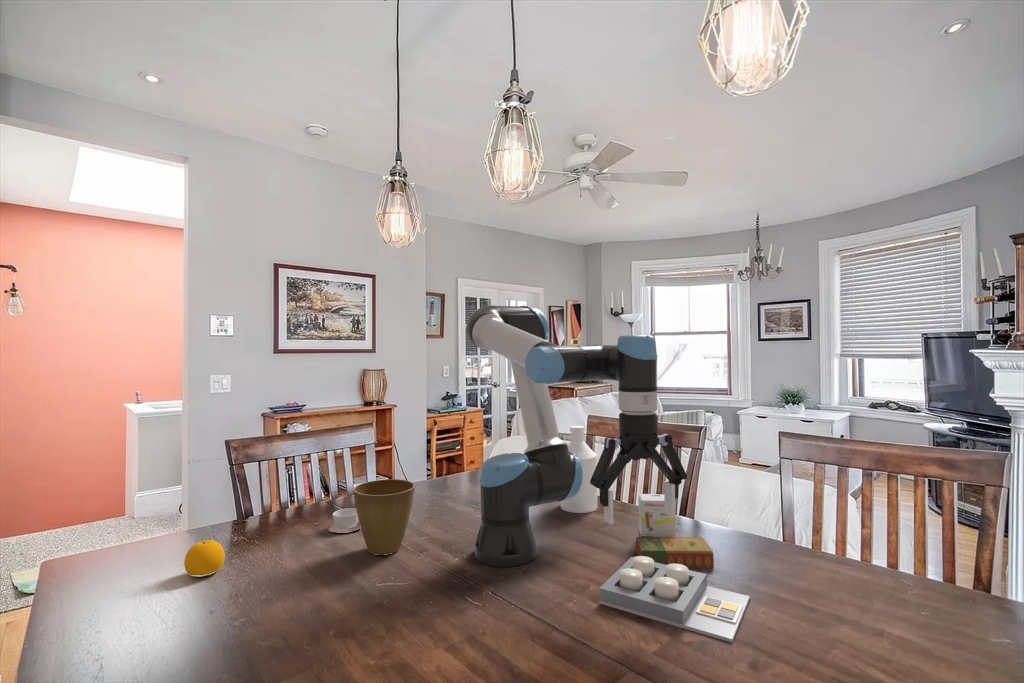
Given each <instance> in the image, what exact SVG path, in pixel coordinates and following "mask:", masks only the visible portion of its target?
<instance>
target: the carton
mask: <svg viewBox="0 0 1024 683" xmlns="http://www.w3.org/2000/svg"><path fill="white" fill-rule="evenodd" d="M635 553H636V555H637V556H646V557H649V558H652V559H653V560H654V562H656V563H661V564H665V565H668V564H681V565H684V566H686V567H687V568H697V569H698V568H701V569H714V568H715V566H714V565H715V564H714V563H715V562H714V561H715V559H714V552H713V549H712V548H711V546H710V545H709V544H708V543H707V541H706V540H705V539H704V538H703V537H696V536H695V537H694V536H693V537H692V536H691V537H683V536H682V537H681V536H680V537H677V536H676V537H639V536H636V538H635ZM637 556H636V557H637Z"/></svg>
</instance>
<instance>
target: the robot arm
mask: <svg viewBox="0 0 1024 683" xmlns="http://www.w3.org/2000/svg"><path fill="white" fill-rule="evenodd" d="M548 323H549V322H548V319H547V317H546V315H545V314H544V313H543V312H542V310H540V309H539V308H537V307H534V306H527V305H520V306H518V305H517V306H516V305H485V306H482V307H480V308H477V309H476V310H474V311H473V312H472V313H471V314H470V316H469V317H468V319H467V321H466V326H465V330H466V331H465V332H466V335H467V337H468V338H467V339H468V340H469V341H470V343H472V345H474V346H475V347H477V348H479V349H481V350H483V351H492V352H494V353H497V354H498V355H500V356H501V357H503V358H505V359H507V360H509V361H510V364H511V365H510V366H511V369H512V374H513V380H514V385H515V388H516V394H517V399H518V403H519V407H520V413H521V418H522V423H523V427H524V432H525V433H524V434H525V437H526V442H527V447H526V448H525V450H524V452H523V453H521V452H512V453H501V454H498V455H494V456H491V457H489V458H487V459H486V460H485V461H483V463H482V464H481V467H480V477H479V484H480V514H481V515H480V516H481V520H480V526H479V528H478V532H477V536H476V541H475V543H474V557H475V559H476V560H477V561H478V562H480V563H482V564H484V565H488V566H492V567H499V568H501V567H504V568H507V567H517V566H521V565H525V564H528V563H530V562H531V561H533V560H534V559H535V558H536V557H537V556H538V548H537V547H538V545H537V540H536V539H535V534H534V531H533V529H532V526H531V523H530V507H535V506H542V505H545V504H550V503H551V504H552V503H555V502H560V501H563V500H565V499H568V498H572V497H574V496H575V495H576V494H577V493H578V492H579V490H580V486H581V485H582V481H583V468H582V464H581V461H580V459H579V458H578V457H577V455H576V454H575V453H573V452H570V451H569V450H568V446H567V445H568V444H567V442H566V441H564V440H562V439H561V436H560V434H559V430H558V425H557V420H556V416H555V412H554V411H555V410H554V406H553V403H552V402H553V401H552V398H551V394H550V389H549V386H548V385H552V384H561V383H573V382H574V383H575V382H588V381H589V382H591V381H616V382H618V409H619V410H620V411H621V412H620V413H619V414H618V427H619V428H618V430H619V437H618V438H611V437H608V436H606V437H605V438H604V445H603V446H604V447H603V450H602V452H601V454H600V457H599V459H598V460H597V466H596V468H595V471H594V473H593V475H592V478H591V480H590V484H591V485H593V486H594V487H596V488H597V489H598V491H599V503H600V505H601V506H602V507H603V521H605V522H606V523H607V524H609V525H614V522H615V521H614V490H613V489H612V488H611V487H612V485H613V484H614V482H615V481H616V479H617V478H618V477H619V475H620V474H621V472H622V471H623V470H624V468H626V467H625V466H627V464H629V463H630V462H631V461H632V460H633V461H638V460H639V461H640V460H649V459H651V461H652V462H653V463H654V464H655V465H656V467H657V468H658V469H659V470H660V472H661V473H662V474H663V476H664V477H665V478H666V479H667V480H664V483H663V486H664V487H663V490H664V492H663V494H664V501H665V513H666V514H667V515H669V516H671V517H675V514H676V500H677V499H678V498H679V485H681V484H682V483H683V482H682V481H683V480H684V481H685V480H687V479H688V474H687V473H686V471H685V469H684V466H683V464H682V462H681V460H680V458H679V456H678V454H677V451H676V449H675V447H674V444H673V442H674V441H673V437H672V435H670V434H668V433H660V435H658V430H659V423H658V422H659V418H658V414H657V411H658V353H657V352H658V350H657V342H656V339H655V337H654V336H653V335H651V334H644V335H643V334H639V335H638V334H637V335H633V334H628V335H620V336H619V337H618V338H617V345H611V344H609V345H608V344H607V345H605V344H592V345H558V344H556V343H553V342H551V341H549V340H548V339H549V334H548V333H549V331H550V328H549V324H548ZM658 445H660V446H661V448H662V450H663V452H664V454H665V457H666V459H667V460H668V463H669V465H670V466H669V465H668V463H666V461H665V460H664V458H662V456H661V454H660V452H659V451H658V450H657V447H658ZM618 447H620V450H619V452H618V453H617V454H616V458H615V459H614V460H613V457H614V456H615V452H616V450H618ZM612 460H613V462H612ZM611 462H612V463H611ZM610 464H611V465H610Z"/></svg>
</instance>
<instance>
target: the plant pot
mask: <svg viewBox="0 0 1024 683" xmlns="http://www.w3.org/2000/svg"><path fill="white" fill-rule="evenodd" d="M352 490H353V496H354V505H355V508H356V510H357V515H358V519H359V523H360V527H361V529H360V531H361V533H362V538H363V539H364V543H365V546H366V547H367V550H368V552H370V553H372V554H378V555H384V554H390V553H394V552H396V551H397V550H398V551H399V550H400V548H401V546H402V543H403V540H404V537H405V535H406V531H407V528H408V524H409V520H410V516H411V511H412V508H413V507H412V506H413V502H414V501H413V500H414V496H415V495H414V493H415V483H414V482H413V481H409V480H405V479H401V478H400V479H399V478H398V479H397V478H394V479H393V478H391V479H388V478H387V479H378V480H377V479H376V480H371V481H367V482H362V483H359V484H357V485H356V486H354V488H352ZM398 551H397V552H398ZM397 552H396V553H397ZM370 553H369V554H370ZM372 554H371V555H372ZM394 554H395V553H394Z"/></svg>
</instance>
